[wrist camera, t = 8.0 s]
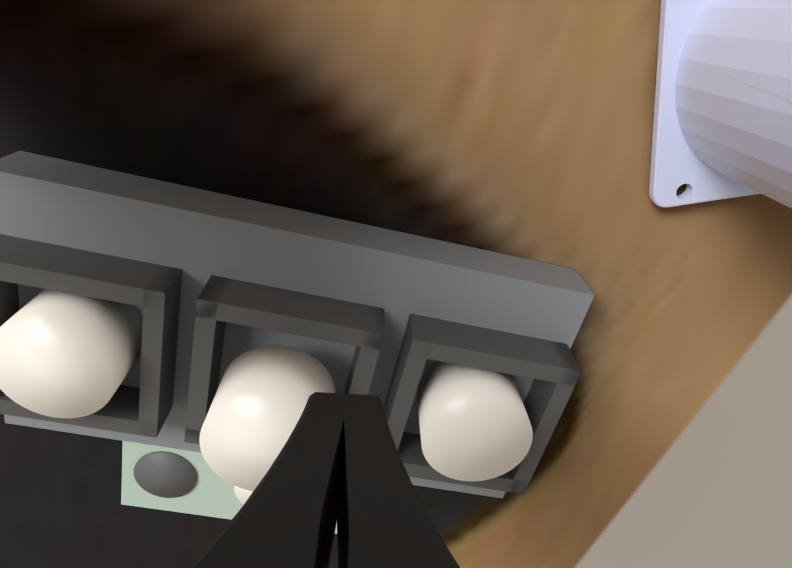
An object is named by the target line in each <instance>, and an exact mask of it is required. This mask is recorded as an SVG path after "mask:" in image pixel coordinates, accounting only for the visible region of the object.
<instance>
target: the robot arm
mask: <svg viewBox="0 0 792 568" xmlns="http://www.w3.org/2000/svg"><path fill="white" fill-rule="evenodd" d="M683 184H686V186H687V187H686V190H685V191H684V192H683V193H682V194H680V195H676V191H677V189H678V188H679V187H680V186H681V185H683ZM754 194H763V195H765V196H767V197H769V198H771V199H773V200H775V201H777V202H779V203H781V204H783V205H785V206H787V207H789V208H791V209H792V0H661V13H660V28H659V44H658V60H657V76H656V92H655V107H654V123H653V139H652V155H651V170H650V186H649V196H650V199H651V200H652V202H653V203H655V204H656V205H658V206H660V207H666V208H667V207H674V206H681V205H688V204H694V203H701V202H708V201H714V200H721V199H728V198H734V197H741V196H748V195H754ZM336 523H337V559H338V568H460V567H459V565H458V564H457V562H456V561H455V559H454V558H453V556H452V554H451V553H450V551H449V550H448V548H447V547H446V545H445V543H444V542H443V540H442V538H441V537H440V535H439V533H438V532H437V530H436V528H435V526H434V525H433V523H432V521H431V519H430V517H429V516H428V514H427V512H426V510H425V508H424V506H423V504H422V502H421V501H420V499H419V497H418V495H417V493H416V491H415V489H414V487H413V485H412V482H411V480H410V478H409V476H408V474H407V471H406V469H405V467H404V465H403V462H402V460H401V458H400V456H399V453H398V451H397V448H396V446H395V443H394V440H393V437H392V435H391V432H390V429H389V426H388V423H387V419H386V416H385V412H384V408H383V402H382V400H381V399H380V398H379V397H378V396H376V395H359V394H342V393H325V392H314V393H313V394H312V395H310V396H309V398H308V401H307V404H306V406H305V408H304V410H303V413H302V415H301V417H300V419H299V421H298V422H297V424H296V426H295V428H294V430H293V432H292V433H291V435H290V437H289V439H288V440H287V442H286V444H285V445H284V447H283V448H282V450H281V451H280V453H279V455H278V456H277V458H276V459H275V461H274V463H273V464H272V466H271V467H270V469H269V470H268V472H267V473H266V475H265V476H264V477H263V479H262V480H261V482H260V483H259V484H258V486H257V487H256V488H255V490H254V491H253V493H252V494H251V495H250V497H249V498H248V499H247V501H246V502H245V504H244V505H243V506H242V508H241V509H240V510H239V511H238V513H237V514H236V515H235V516H234V518H233V519H232V520H231V521H230V523H229V524H228V525H227V526H226V528H225V529H224V530H223V531H222V532H221V534H220V535H219V536H218V537H217V538H216V539H215V540H214V542H213V543H212V544H211V545H210V546H209V547H208V549H207V550H206V551H205V552H204V553H203V554H202V555H201V556H200V557H199V559H198V560H197V561H196V562H195V563H194V564H193V565H192V566H191V567H190V568H329V564H330V558H331V552H332V546H333V541H334V535H335V529H336Z"/></svg>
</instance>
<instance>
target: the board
mask: <svg viewBox="0 0 792 568" xmlns="http://www.w3.org/2000/svg"><path fill="white" fill-rule="evenodd" d="M44 289H49V290H54V291H60V292H65V293H71V294H76V295H82V296H87V297H93V298H98V299H103V300H109V301H114V302H120V303H125V304H131V305H134V306H135V307H136V308H137V310H138V311H139V313H140V314H141V316H142V318H143V320H142V346H141V355H140V356H139V358H138V359H137V361H136V362H135V364H134V365H133V367H132V368H131V369H130V371H129V372H128V374H127V375H126V377H125V378H124V380H123V381H122V383H121V384H120V386H119V387H118V389H117V390H116V392H115V393H114V395H113V396H112V397H111V399H110V400H109V402H108V403H107V404H106V405H105V406H104V407H103V408H101V409H100V410H98V411H97V412H95V413H93V414H90V415H87V416H84V417H79V418H54V417H49V416H45V415H41V414H38V413H35V412H33V411H30V410H28V409H26V408H24V407H22V406H21V405H19V404H17V403H16V402H14V401H13V400H12V399H10V398H9V397H8V396H7V395H6V394H5V393H4V392H2V390H1V389H0V414H4V418H5V423H10V424H16V425H23V426H30V427H36V428H43V429H49V430H56V431H63V432H69V433H76V434H82V435H89V436H95V437H102V438H109V439H115V440H122V441H128V442H135V443H141V444H148V445H155V446H161V447H168V448H174V449H181V450H188V451H194V452H201V450H200V443H199V437H200V431H201V428H202V426H203V423H204V421H205V418H206V416H207V414H208V411H209V409H210V406H211V404H212V402H213V399H214V397H215V394H216V392H217V390H218V387H219V385H220V382H221V380H222V378H223V375H224V373H225V371H226V369H227V367H228V366H229V365H230V363H231V362H232V361H233V360H234V359H235V358H237V357H238V356H239V355H241V354H242V353H244V352H246V351H248V350H251V349H254V348H257V347H261V346H269V345H280V346H288V347H292V348H296V349H299V350H301V351H304V352H306V353H308V354H310V355H311V356H313V357H314V358H316V359H317V360H318V361H319V362H321V363H322V364H323V366H324V367H325V368H326V369H327V370H328V372H329V373H330V375H331V377H332V379H333V382H334V385H335V393H342V394H359V395H376V396H378V397H379V398H380V399H381V400H382V402H383V408H384V412H385V416H386V419H387V423H388V426H389V429H390V432H391V435H392V437H393V440H394V443H395V446H396V448H397V451H398V453H399V456H400V458H401V460H402V462H403V465H404V467H405V469H406V471H407V474H408V476H409V478H410V480H411V482H412V485H418V486H424V487H431V488H437V489H444V490H451V491H457V492H464V493H470V494H477V495H484V496H490V497H497V498H503V496H504V494H505V492H512V493H518V494H524V493H525V490H526V488H527V486H528V484H529V482H530V480H531V478H532V476H533V474H534V471H535V469H536V467H537V465H538V463H539V461H540V459H541V457H542V455H543V453H544V450H545V448H546V446H547V444H548V442H549V440H550V438H551V436H552V434H553V431H554V429H555V427H556V425H557V423H558V421H559V419H560V417H561V415H562V413H563V410H564V408H565V406H566V404H567V402H568V400H569V398H570V396H571V394H572V391H573V389H574V387H575V385H576V383H577V381H578V379H579V377H580V375H581V373H582V370H581V369H580V367H579V365H578V363H577V361H576V360H575V358H574V356H573V354H572V352H571V351H570V349H571V346H572V344H573V342H574V340H575V338H576V335H577V333H578V331H579V329H580V326H581V324H582V322H583V320H584V318H585V315H586V313H587V311H588V309H589V307H590V304H591V302H592V300H593V298H594V296H595V295H594V294H593V292H592V291H591V290H590V288H589V287H588V286H587V284H586V283H585V282H584V280H583V279H582V278H581V276H580V275H579V274H578V272H577V271H576V270H575V269H572V268H567V267H562V266H558V265H553V264H548V263H544V262H539V261H534V260H530V259H525V258H520V257H516V256H511V255H506V254H502V253H497V252H492V251H487V250H483V249H478V248H473V247H469V246H464V245H459V244H455V243H450V242H445V241H441V240H436V239H431V238H427V237H422V236H417V235H413V234H408V233H403V232H399V231H394V230H389V229H385V228H380V227H375V226H370V225H366V224H361V223H356V222H352V221H347V220H342V219H338V218H333V217H328V216H324V215H319V214H314V213H310V212H305V211H300V210H296V209H291V208H286V207H282V206H277V205H272V204H268V203H263V202H258V201H253V200H249V199H244V198H239V197H235V196H230V195H225V194H221V193H216V192H211V191H207V190H202V189H197V188H193V187H188V186H183V185H179V184H174V183H169V182H165V181H160V180H155V179H151V178H146V177H141V176H137V175H132V174H127V173H122V172H118V171H113V170H108V169H104V168H99V167H94V166H90V165H85V164H80V163H76V162H71V161H66V160H62V159H57V158H52V157H48V156H43V155H38V154H34V153H29V152H24V151H18V152H15V153H13V154H10V155H8V156H6V157H3V158H1V159H0V326H2V325H3V324H4V323H5V322H6V321H7V320H9V319H10V318H11V317H12V316H13V315H14V314H16V313H17V312H18V311H19V310H20V309H22V308H23V307H24V306H25V305H26V304H27V303H29V302H30V301H31V300H32V299H33V298H34V297H36V296H37V295H38V294H39V293H40V292H41V291H43V290H44ZM438 361H441V362H446V363H452V364H457V365H463V366H468V367H474V368H479V369H485V370H490V371H495V372H501V373H506V374H512V375H513V377H514V379H515V382H516V385H517V388H518V390H519V393H520V396H521V399H522V401H523V404H524V407H525V409H526V412H527V415H528V418H529V420H530V423H531V426H532V432H533V439H532V444H531V447H530V449H529V451H528V453H527V455H526V456H525V458H524V459H523V460H522V461H521V462H520V463H519V464H518V465H517V466H516V467H514V468H513V469H512V470H510V471H509V472H507V473H505V474H503V475H501V476H498V477H496V478H492V479H489V480H483V481H460V480H455V479H452V478H449V477H447V476H444V475H442V474H441V473H439V472H437V471H436V470H435V469H434V468H432V467H431V465H430V464H429V463H428V462H427V460H426V459H425V457H424V455H423V451H422V446H421V436H420V426H419V415H418V405H417V388H418V385H419V382H420V380H421V378H422V376H423V375H424V374H425V372H426V371H427V370H428V369H429V368H430V367H431V366H432V365H434V364H435V363H436V362H438ZM201 453H202V452H201Z"/></svg>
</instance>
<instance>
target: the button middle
mask: <svg viewBox="0 0 792 568" xmlns="http://www.w3.org/2000/svg"><path fill="white" fill-rule="evenodd" d="M314 392H325V393H335V385H334V382H333V379H332V377H331V375H330V373H329V372H328V370H327V369H326V368H325V367H324V366H323V364H322V363H321V362H319V361H318V360H317V359H316V358H314V357H313V356H311V355H310V354H308V353H306V352H304V351H301V350H299V349H296V348H292V347H288V346H280V345H269V346H261V347H257V348H254V349H251V350H248V351H246V352H244V353H242V354H241V355H239V356H238V357H237V358H235V359H234V360H233V361H232V362H231V363H230V365H229V366H228V367H227V369H226V371H225V373H224V375H223V378H222V380H221V382H220V385H219V387H218V390H217V392H216V394H215V397H214V399H213V402H212V404H211V406H210V409H209V411H208V414H207V416H206V418H205V421H204V423H203V426H202V428H201V431H200V437H199V443H200V450H201V452H202V455H203V457H204V459H205V461H206V463H207V464H208V466H209V467H210V468H211V469H212V470H213V471H214V472H215V473H216V474H217V475H218V476H219V477H221V478H222V479H224V480H225V481H227V482H228V483H230V484H232V485H234V486H237V487H239V488H242V489H245V490H249V491H254V490H255V488H256V487H257V486H258V484H259V483H260V482H261V480H262V479H263V477H264V476H265V475H266V473H267V472H268V470H269V469H270V467H271V466H272V464H273V463H274V461H275V459H276V458H277V456H278V455H279V453H280V451H281V450H282V448H283V447H284V445H285V444H286V442H287V440H288V439H289V437H290V435H291V433H292V432H293V430H294V428H295V426H296V424H297V422H298V421H299V419H300V417H301V415H302V413H303V410H304V408H305V406H306V404H307V401H308V398H309V396H310V395H312V394H313V393H314Z"/></svg>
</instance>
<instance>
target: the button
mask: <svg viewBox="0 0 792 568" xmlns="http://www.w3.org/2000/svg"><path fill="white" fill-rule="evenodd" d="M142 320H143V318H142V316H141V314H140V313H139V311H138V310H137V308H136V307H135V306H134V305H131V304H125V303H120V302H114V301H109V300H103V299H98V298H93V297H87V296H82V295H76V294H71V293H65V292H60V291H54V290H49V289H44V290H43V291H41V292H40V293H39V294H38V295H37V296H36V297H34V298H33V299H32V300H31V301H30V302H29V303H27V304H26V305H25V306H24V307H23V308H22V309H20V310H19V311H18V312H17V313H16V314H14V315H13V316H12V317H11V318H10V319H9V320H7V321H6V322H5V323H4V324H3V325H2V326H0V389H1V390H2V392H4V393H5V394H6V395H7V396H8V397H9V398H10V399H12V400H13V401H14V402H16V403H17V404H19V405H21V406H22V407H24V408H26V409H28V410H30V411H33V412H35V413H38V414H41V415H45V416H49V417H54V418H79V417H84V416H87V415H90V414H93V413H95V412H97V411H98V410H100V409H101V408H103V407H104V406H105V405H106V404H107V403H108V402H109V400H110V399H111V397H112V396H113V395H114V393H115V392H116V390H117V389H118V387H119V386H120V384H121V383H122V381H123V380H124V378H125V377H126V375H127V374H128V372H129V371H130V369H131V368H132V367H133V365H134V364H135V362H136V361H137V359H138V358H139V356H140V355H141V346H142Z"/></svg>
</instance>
